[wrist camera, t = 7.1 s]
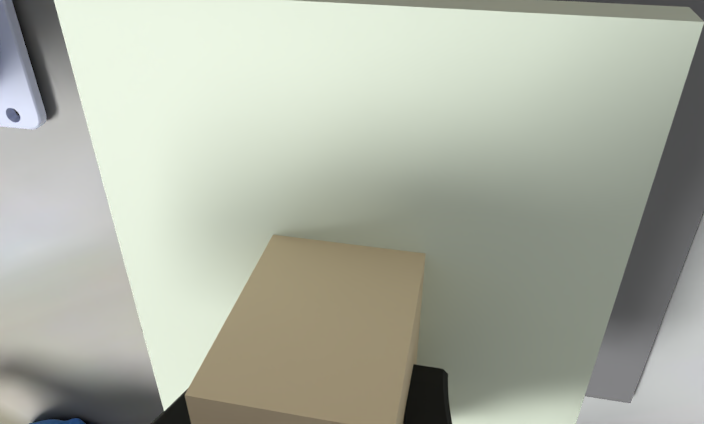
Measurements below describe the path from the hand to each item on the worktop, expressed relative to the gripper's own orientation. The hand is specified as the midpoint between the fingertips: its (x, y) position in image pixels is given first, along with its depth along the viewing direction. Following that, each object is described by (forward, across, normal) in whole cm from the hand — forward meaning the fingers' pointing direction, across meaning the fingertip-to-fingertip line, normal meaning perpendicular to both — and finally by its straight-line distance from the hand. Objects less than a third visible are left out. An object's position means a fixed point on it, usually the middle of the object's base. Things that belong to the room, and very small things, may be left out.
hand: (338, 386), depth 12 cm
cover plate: (+2, 0, 0) cm, 2 cm away
